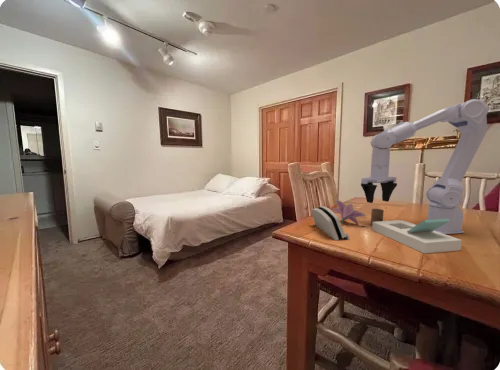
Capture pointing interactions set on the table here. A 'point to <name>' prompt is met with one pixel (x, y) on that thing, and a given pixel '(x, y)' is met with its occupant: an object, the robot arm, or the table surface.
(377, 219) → the peg
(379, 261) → the table surface
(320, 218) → the grey curved piece
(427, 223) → the teal flap lid
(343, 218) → the lily
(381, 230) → the tray
